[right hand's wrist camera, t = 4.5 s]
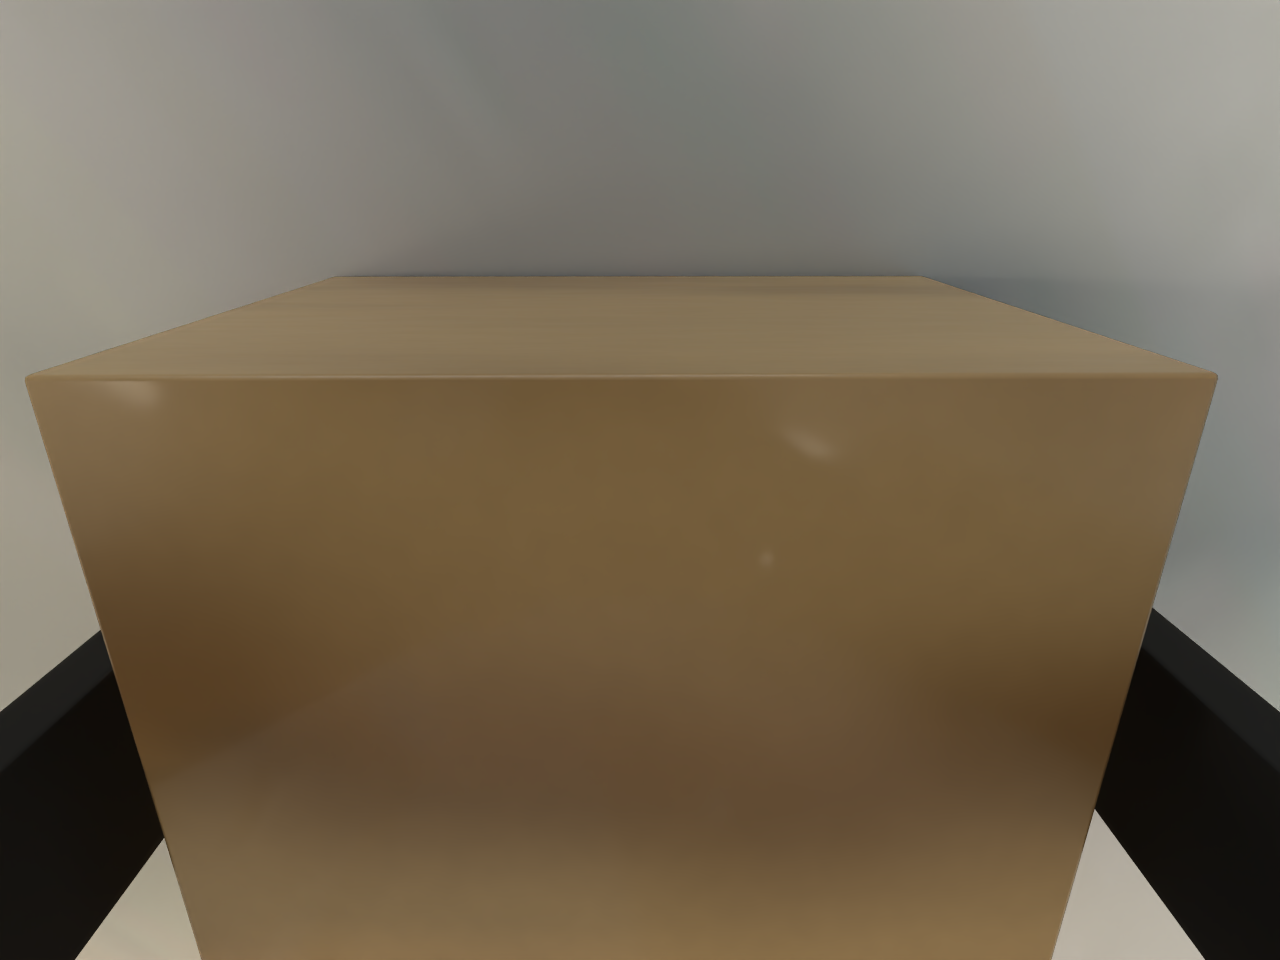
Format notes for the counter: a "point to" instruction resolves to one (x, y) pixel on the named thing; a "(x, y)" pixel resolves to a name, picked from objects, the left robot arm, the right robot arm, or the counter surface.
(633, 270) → the counter surface
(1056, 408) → the long beam
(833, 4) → the counter surface
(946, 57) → the counter surface
